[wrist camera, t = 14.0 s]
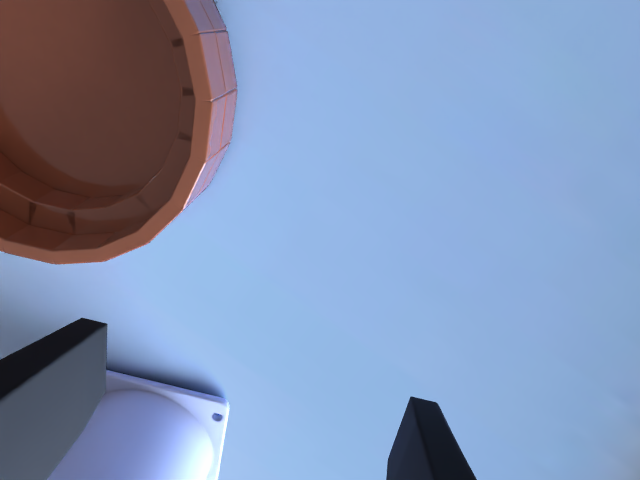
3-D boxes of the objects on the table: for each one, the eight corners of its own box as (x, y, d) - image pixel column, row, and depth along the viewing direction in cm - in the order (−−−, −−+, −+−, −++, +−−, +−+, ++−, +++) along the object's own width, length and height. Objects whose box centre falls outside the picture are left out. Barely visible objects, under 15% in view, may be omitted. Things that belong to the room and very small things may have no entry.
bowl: (218, 257, 22) (191, 297, 19) (-61, 191, 23) (-133, 221, 19) (262, -76, 17) (234, -97, 14) (-105, -157, 17) (-214, -196, 14)
